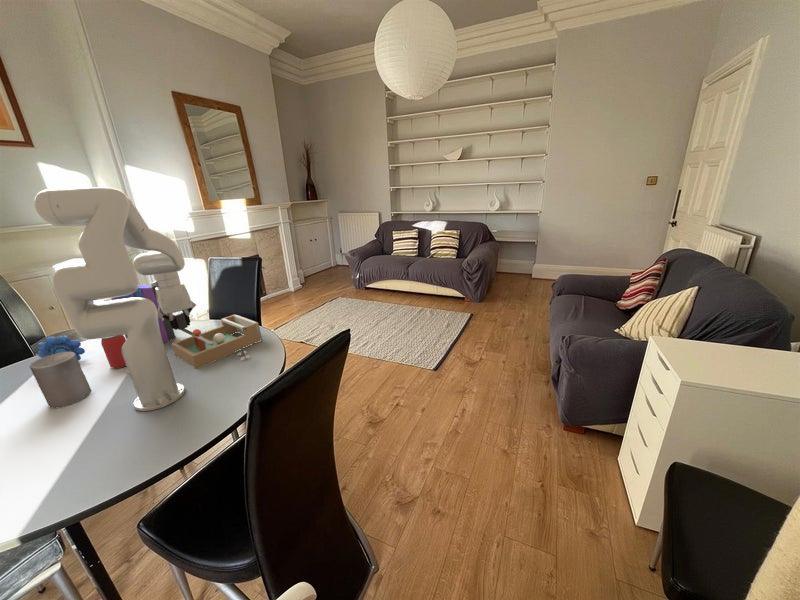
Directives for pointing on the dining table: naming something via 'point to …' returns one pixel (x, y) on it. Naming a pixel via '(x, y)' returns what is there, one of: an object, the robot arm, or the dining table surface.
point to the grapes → (60, 346)
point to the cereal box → (150, 294)
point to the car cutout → (243, 354)
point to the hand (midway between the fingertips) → (181, 326)
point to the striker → (196, 333)
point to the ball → (219, 338)
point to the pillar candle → (60, 379)
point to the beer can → (114, 350)
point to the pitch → (218, 350)
